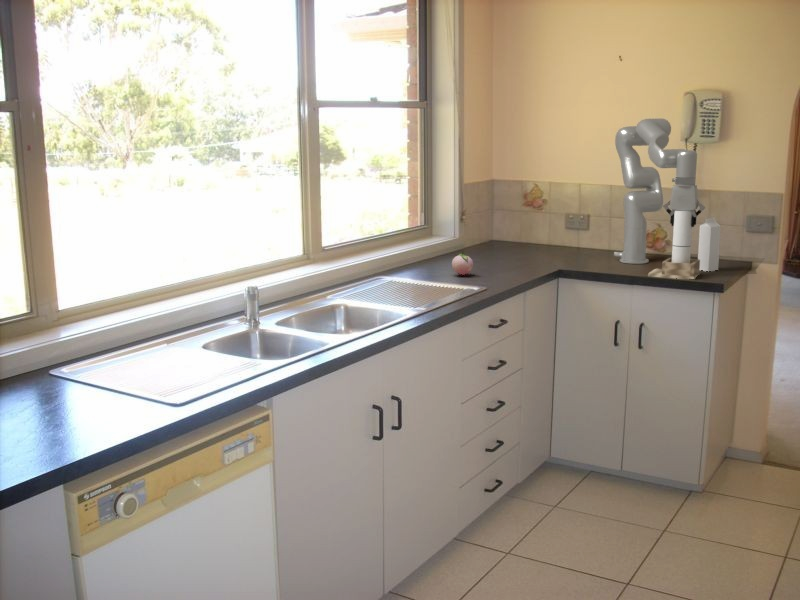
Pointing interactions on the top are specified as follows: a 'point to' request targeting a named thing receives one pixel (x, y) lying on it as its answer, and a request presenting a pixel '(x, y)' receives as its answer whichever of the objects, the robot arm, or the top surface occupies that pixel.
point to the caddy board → (677, 270)
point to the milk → (709, 245)
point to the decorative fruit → (462, 264)
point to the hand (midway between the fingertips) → (682, 225)
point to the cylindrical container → (682, 236)
